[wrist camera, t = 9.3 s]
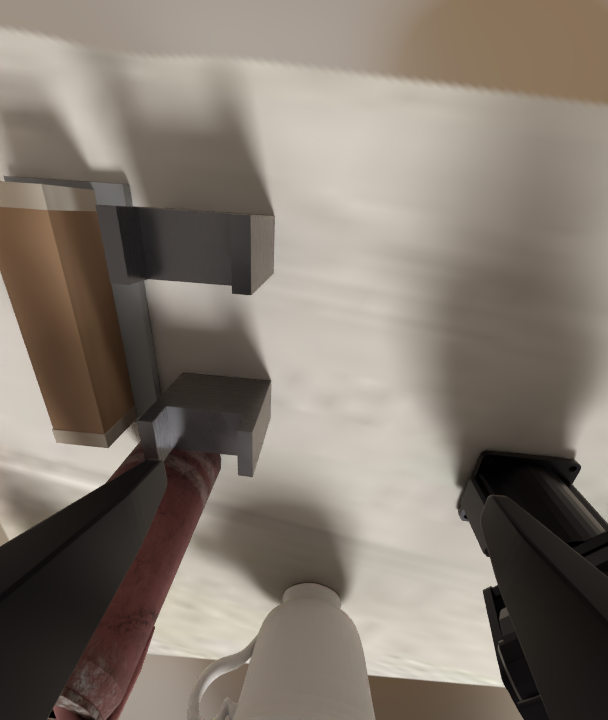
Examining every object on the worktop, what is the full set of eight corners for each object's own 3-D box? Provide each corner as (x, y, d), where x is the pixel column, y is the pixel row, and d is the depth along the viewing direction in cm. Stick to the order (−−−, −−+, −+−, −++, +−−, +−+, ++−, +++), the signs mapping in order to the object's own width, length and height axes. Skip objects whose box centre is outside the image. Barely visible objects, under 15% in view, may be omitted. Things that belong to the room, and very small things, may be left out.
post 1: (274, 215, 17) (250, 215, 12) (273, 273, 18) (251, 295, 13) (164, 208, 17) (95, 204, 12) (171, 265, 18) (110, 283, 13)
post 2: (271, 380, 21) (252, 432, 16) (270, 418, 22) (252, 476, 17) (183, 372, 21) (137, 420, 16) (187, 410, 22) (145, 465, 17)
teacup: (220, 548, 28) (168, 702, 19) (384, 570, 28) (410, 739, 19) (223, 621, 34) (183, 771, 24) (362, 641, 33) (374, 802, 24)
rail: (94, 190, 16) (41, 184, 13) (138, 416, 22) (108, 448, 19) (33, 186, 16) (-33, 179, 13) (93, 412, 22) (56, 442, 19)
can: (211, 493, 26) (98, 764, 13) (137, 463, 25) (-62, 722, 12) (238, 442, 23) (129, 714, 11) (156, 407, 22) (-69, 657, 10)
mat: (129, 185, 17) (122, 183, 16) (164, 419, 23) (160, 424, 22) (14, 177, 17) (3, 175, 16) (80, 410, 23) (73, 415, 23)
